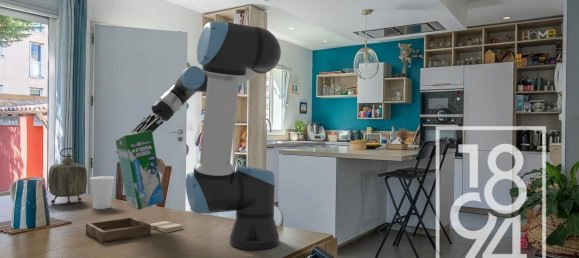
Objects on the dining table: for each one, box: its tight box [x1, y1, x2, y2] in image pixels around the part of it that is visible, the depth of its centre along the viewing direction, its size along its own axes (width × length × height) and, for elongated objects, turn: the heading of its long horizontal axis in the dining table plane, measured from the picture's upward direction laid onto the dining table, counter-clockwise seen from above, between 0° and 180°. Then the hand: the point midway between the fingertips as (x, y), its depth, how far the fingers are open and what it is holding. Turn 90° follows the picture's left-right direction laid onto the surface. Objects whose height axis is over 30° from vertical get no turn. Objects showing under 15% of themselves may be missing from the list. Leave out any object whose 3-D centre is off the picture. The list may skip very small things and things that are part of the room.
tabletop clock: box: [47, 147, 88, 205], centre depth 181 cm, size 14×9×25 cm, turn 130°
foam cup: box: [89, 175, 115, 210], centre depth 173 cm, size 10×9×13 cm
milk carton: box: [115, 130, 165, 211], centre depth 136 cm, size 9×9×25 cm
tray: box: [85, 216, 152, 245], centre depth 130 cm, size 15×15×3 cm
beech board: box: [149, 220, 184, 233], centre depth 140 cm, size 10×7×1 cm
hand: (119, 154), depth 135 cm, fingers open, 2 cm apart
